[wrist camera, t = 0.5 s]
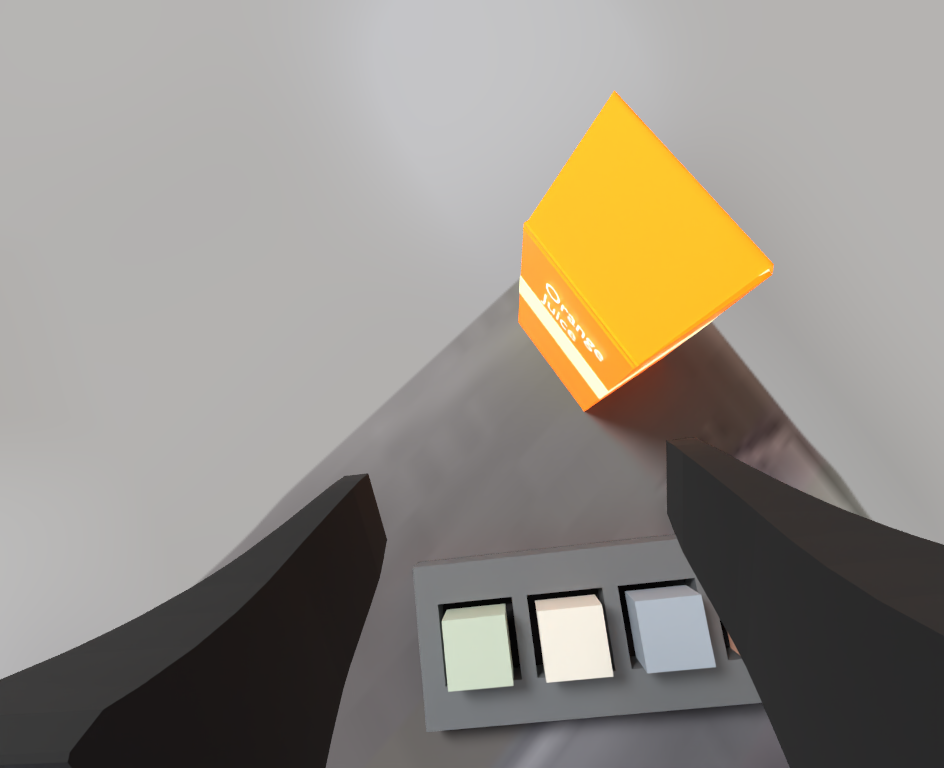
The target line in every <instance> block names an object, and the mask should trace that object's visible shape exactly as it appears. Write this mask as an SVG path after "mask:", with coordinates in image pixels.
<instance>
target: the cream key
mask: <svg viewBox="0 0 944 768" xmlns="http://www.w3.org/2000/svg"><path fill="white" fill-rule="evenodd" d="M535 605H536V613H537V620H538V628H539V635H540V643H541V650H542V657H543V665H544V671H545V677H546V682H547V683H549V682H560V681H571V680H582V679H593V678H604V677H614V676H613V670H612V664H611V658H610V652H609V646H608V639H607V633H606V627H605V621H604V615H603V609H602V604H601V603H600V601H599V600H598V599H597V597H596V596H595V594H593V595H583V596H574V597H564V598H554V599H544V600H535Z"/></svg>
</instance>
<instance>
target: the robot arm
mask: <svg viewBox="0 0 944 768" xmlns="http://www.w3.org/2000/svg"><path fill="white" fill-rule="evenodd" d="M666 446H667V514H668V517H669V519H670V522H671V524H672V527H673V530H674V532H675V535H676V537H677V540H678V542H679V544H680V547H681V549H682V552H683V553H684V555H685V557H686V559H687V561H688V563H689V564H690V566H691V568H692V570H693V572H694V573H695V575H696V577H697V579H698V581H699V582H700V584H701V586H702V588H703V590H704V591H705V593H706V595H707V597H708V598H709V600H710V602H711V604H712V605H713V607H714V609H715V611H716V612H717V614H718V616H719V618H720V620H721V621H722V623H723V625H724V627H725V628H726V630H727V632H728V634H729V635H730V637H731V639H732V641H733V643H734V644H735V646H736V648H737V650H738V652H739V654H740V656H741V658H742V660H743V662H744V664H745V666H746V668H747V670H748V672H749V675H750V677H751V679H752V681H753V684H754V686H755V688H756V690H757V693H758V695H759V697H760V699H761V702H762V704H763V706H764V708H765V710H766V713H767V715H768V717H769V719H770V722H771V724H772V727H773V729H774V731H775V734H776V736H777V738H778V741H779V743H780V745H781V748H782V750H783V752H784V755H785V757H786V759H787V762H788V764H789V766H790V768H944V545H942V544H939V543H936V542H933V541H930V540H926V539H923V538H920V537H917V536H914V535H911V534H908V533H905V532H902V531H899V530H896V529H893V528H890V527H888V526H885V525H882V524H880V523H877V522H875V521H872V520H869V519H867V518H864V517H861V516H859V515H856V514H853V513H851V512H848V511H846V510H843V509H841V508H838V507H836V506H833V505H831V504H829V503H826V502H824V501H822V500H820V499H817V498H815V497H813V496H811V495H808V494H806V493H804V492H802V491H800V490H797V489H795V488H793V487H791V486H789V485H787V484H785V483H783V482H781V481H778V480H776V479H774V478H772V477H770V476H768V475H766V474H764V473H763V472H761V471H759V470H757V469H755V468H753V467H751V466H749V465H747V464H745V463H743V462H741V461H739V460H738V459H736V458H734V457H732V456H730V455H728V454H726V453H724V452H722V451H721V450H719V449H717V448H715V447H713V446H711V445H709V444H707V443H705V442H703V441H701V440H699V439H696V438H685V439H675V440H666ZM386 542H387V538H386V535H385V531H384V528H383V524H382V521H381V517H380V514H379V510H378V507H377V503H376V500H375V496H374V493H373V489H372V486H371V482H370V479H369V475H368V474H360V475H351V476H344V477H343V478H341V479H340V480H338V481H337V482H335V483H334V484H333V485H332V486H330V487H329V488H328V489H326V490H325V491H324V492H323V493H321V494H320V495H319V496H318V497H316V498H315V499H314V500H313V501H311V502H310V503H309V504H308V505H306V506H305V507H304V508H303V509H301V510H300V511H299V512H298V513H296V514H295V515H294V516H293V517H291V518H290V519H289V520H288V521H286V522H285V523H284V524H283V525H281V526H280V527H279V528H277V529H276V530H275V531H273V532H272V533H271V534H269V535H268V536H267V537H265V538H264V539H263V540H261V541H260V542H259V543H257V544H256V545H255V546H253V547H252V548H251V549H249V550H248V551H247V552H245V553H244V554H242V555H241V556H239V557H238V558H237V559H235V560H234V561H232V562H231V563H229V564H228V565H226V566H225V567H223V568H222V569H220V570H218V571H217V572H215V573H214V574H212V575H211V576H209V577H207V578H206V579H204V580H203V581H201V582H200V583H198V584H196V585H195V586H193V587H191V588H190V589H188V590H186V591H184V592H182V593H181V594H179V595H177V596H175V597H174V598H172V599H170V600H168V601H166V602H165V603H163V604H161V605H159V606H157V607H156V608H154V609H152V610H150V611H149V612H147V613H145V614H143V615H141V616H139V617H137V618H135V619H133V620H131V621H129V622H128V623H126V624H124V625H121V626H120V627H118V628H116V629H114V630H112V631H110V632H107V633H105V634H103V635H101V636H99V637H97V638H95V639H93V640H91V641H88V642H86V643H84V644H82V645H80V646H78V647H76V648H73V649H71V650H69V651H67V652H65V653H63V654H60V655H58V656H56V657H53V658H51V659H48V660H46V661H44V662H42V663H39V664H36V665H34V666H32V667H29V668H27V669H25V670H22V671H20V672H17V673H15V674H13V675H10V676H8V677H6V678H3V679H1V680H0V768H325V767H326V763H327V758H328V753H329V748H330V744H331V739H332V734H333V730H334V726H335V722H336V717H337V713H338V709H339V705H340V700H341V696H342V692H343V688H344V684H345V681H346V678H347V674H348V671H349V667H350V664H351V662H352V659H353V656H354V653H355V650H356V647H357V644H358V641H359V638H360V635H361V632H362V629H363V626H364V623H365V620H366V617H367V614H368V612H369V609H370V606H371V603H372V599H373V596H374V593H375V590H376V587H377V584H378V581H379V578H380V573H381V569H382V564H383V559H384V553H385V547H386Z"/></svg>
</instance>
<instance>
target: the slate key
mask: <svg viewBox="0 0 944 768" xmlns="http://www.w3.org/2000/svg"><path fill="white" fill-rule="evenodd" d="M625 596H626V602H627V607H628V613H629V619H630V625H631V631H632V636H633V642H634V648H635V654H636V658H637V659H638V660H639V662H640V663H641V665H642V666H643V668H644V669H645V671H646V672H647V673H658V672H669V671H680V670H690V669H701V668H712V667H716V664H715V659H714V654H713V649H712V645H711V640H710V635H709V630H708V625H707V620H706V615H705V610H704V605H703V601H702V596H701V594H699V593H698V592H696V591H695V590H693V589H691V588H690V587H688V586H687V585H681V586H671V587H661V588H652V589H642V590H632V591H625Z"/></svg>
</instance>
